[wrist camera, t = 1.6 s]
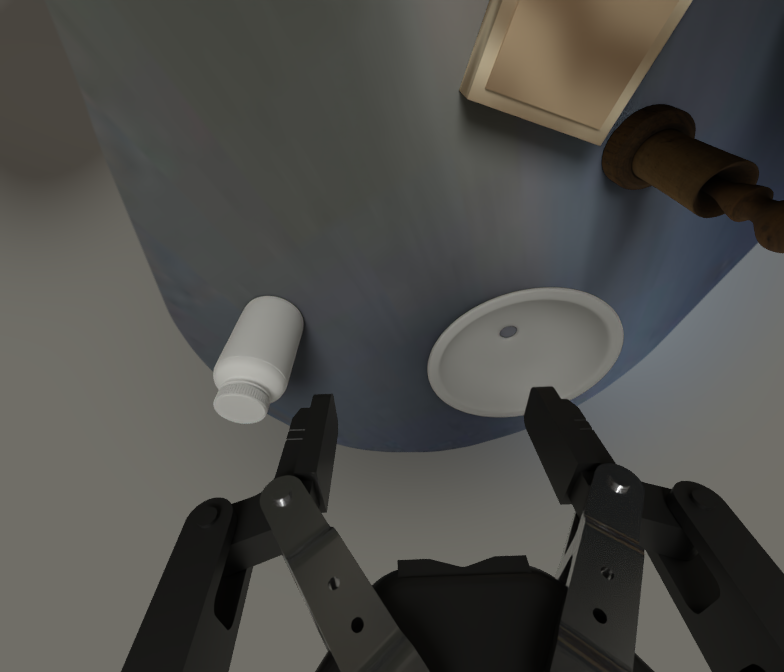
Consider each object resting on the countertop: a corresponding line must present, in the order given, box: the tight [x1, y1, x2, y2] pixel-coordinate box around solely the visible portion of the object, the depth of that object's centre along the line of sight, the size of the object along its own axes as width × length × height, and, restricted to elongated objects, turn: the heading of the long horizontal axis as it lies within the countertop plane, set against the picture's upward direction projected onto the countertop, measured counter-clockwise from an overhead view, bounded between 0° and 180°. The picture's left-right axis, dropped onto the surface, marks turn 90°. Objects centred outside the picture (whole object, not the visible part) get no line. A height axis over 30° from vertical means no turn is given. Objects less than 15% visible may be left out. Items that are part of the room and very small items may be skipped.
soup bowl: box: [427, 287, 624, 417], centre depth 46 cm, size 24×24×7 cm
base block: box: [459, 0, 693, 146], centre depth 24 cm, size 12×12×4 cm
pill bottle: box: [213, 296, 304, 424], centre depth 40 cm, size 8×8×15 cm
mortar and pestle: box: [602, 104, 784, 253], centre depth 25 cm, size 7×6×18 cm
